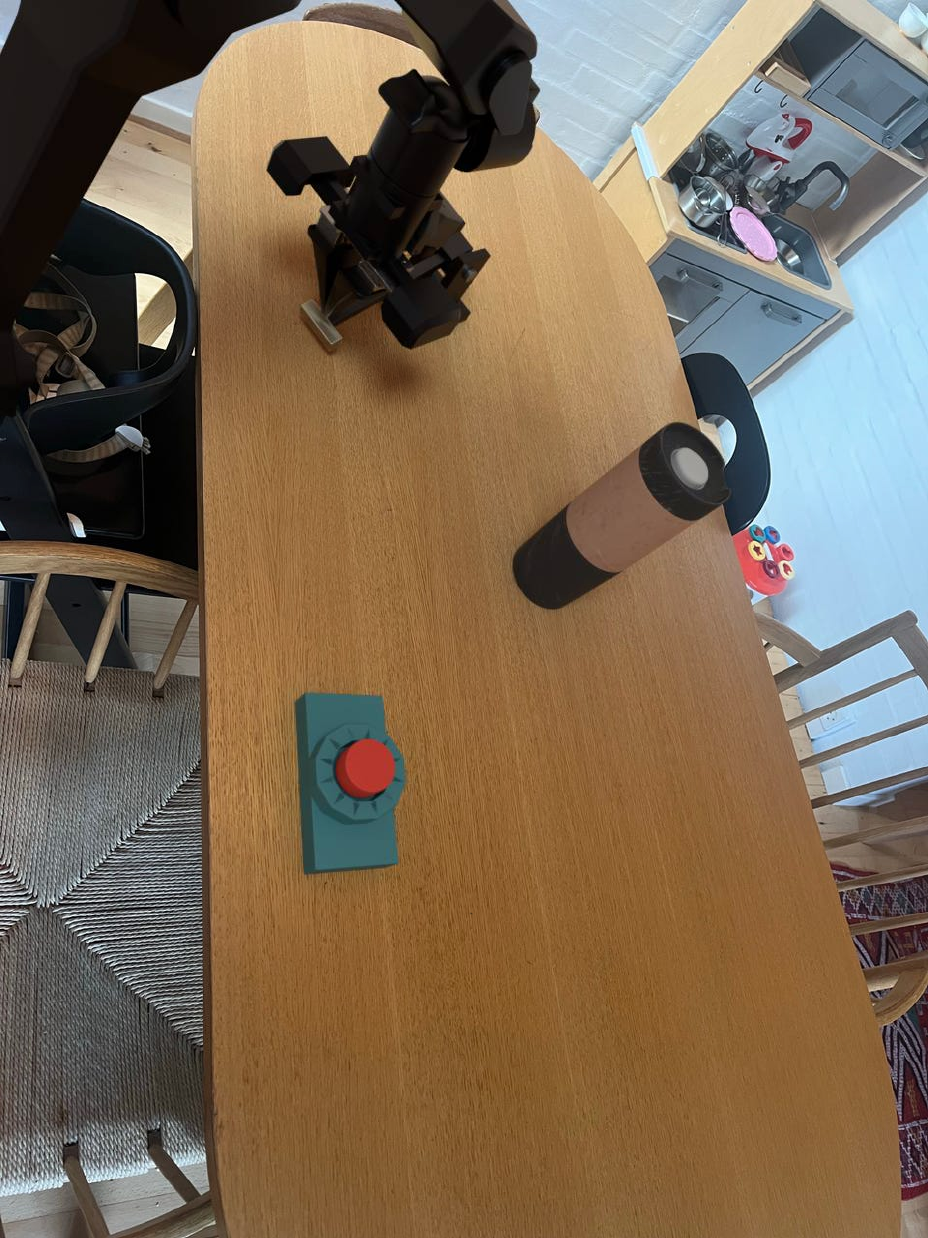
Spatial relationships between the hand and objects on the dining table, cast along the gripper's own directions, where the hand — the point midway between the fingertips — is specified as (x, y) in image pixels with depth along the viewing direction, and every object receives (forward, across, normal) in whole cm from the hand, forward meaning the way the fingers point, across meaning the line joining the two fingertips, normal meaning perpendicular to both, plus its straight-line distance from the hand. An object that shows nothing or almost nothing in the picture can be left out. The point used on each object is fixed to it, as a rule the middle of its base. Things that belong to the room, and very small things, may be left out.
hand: (327, 314), depth 69 cm
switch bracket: (+3, 0, -15) cm, 15 cm away
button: (-1, -33, +25) cm, 41 cm away
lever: (0, 0, -8) cm, 8 cm away
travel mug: (+3, -30, -4) cm, 31 cm away
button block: (+3, -33, +25) cm, 41 cm away
